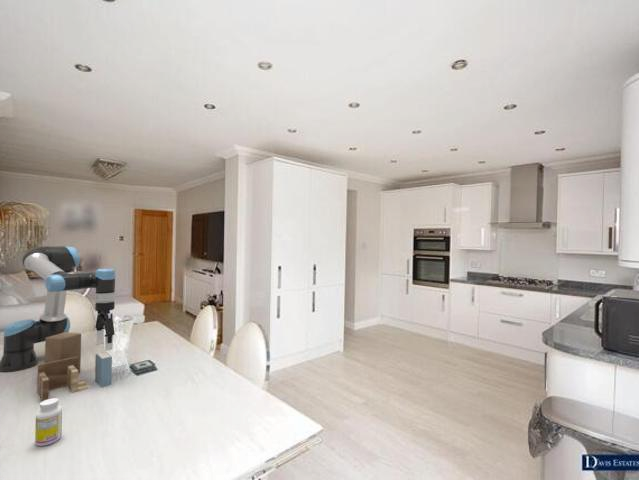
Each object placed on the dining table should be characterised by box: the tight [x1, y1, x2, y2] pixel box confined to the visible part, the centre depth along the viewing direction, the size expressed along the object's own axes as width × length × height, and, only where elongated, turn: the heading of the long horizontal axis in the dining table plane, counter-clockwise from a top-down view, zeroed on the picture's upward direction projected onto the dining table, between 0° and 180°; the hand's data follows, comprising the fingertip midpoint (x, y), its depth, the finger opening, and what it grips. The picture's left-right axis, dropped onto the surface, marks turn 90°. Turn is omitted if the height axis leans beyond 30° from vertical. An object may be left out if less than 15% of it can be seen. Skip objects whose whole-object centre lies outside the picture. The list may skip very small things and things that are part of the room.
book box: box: [94, 351, 113, 388], centre depth 147 cm, size 10×4×13 cm, turn 49°
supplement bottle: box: [34, 397, 63, 447], centre depth 104 cm, size 7×7×13 cm
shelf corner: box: [36, 356, 78, 402], centre depth 137 cm, size 15×14×12 cm
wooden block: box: [44, 331, 82, 375], centre depth 154 cm, size 10×10×20 cm
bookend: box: [66, 365, 90, 394], centre depth 142 cm, size 10×6×9 cm, turn 49°
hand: (104, 347), depth 147 cm, fingers open, 13 cm apart
